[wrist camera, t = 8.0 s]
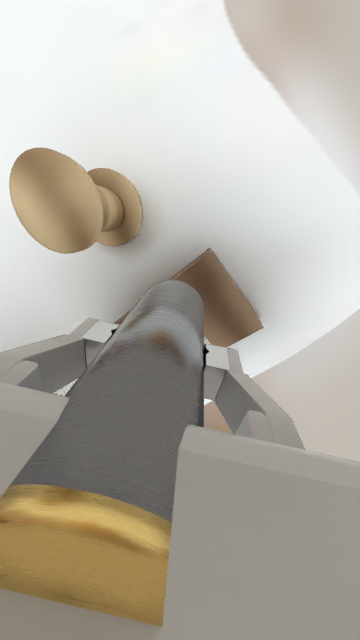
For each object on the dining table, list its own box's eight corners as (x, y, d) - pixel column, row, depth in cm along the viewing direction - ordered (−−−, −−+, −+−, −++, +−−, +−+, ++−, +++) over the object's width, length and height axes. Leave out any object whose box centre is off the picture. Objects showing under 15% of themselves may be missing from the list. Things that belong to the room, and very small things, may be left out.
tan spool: (113, 257, 26) (66, 277, 18) (67, 205, 24) (-14, 198, 15) (155, 215, 23) (124, 214, 15) (107, 151, 21) (35, 103, 12)
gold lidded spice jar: (162, 344, 14) (66, 630, 4) (130, 296, 12) (-128, 569, 3) (214, 323, 12) (245, 662, 3) (185, 268, 11) (68, 583, 2)
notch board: (157, 373, 35) (153, 386, 33) (109, 327, 32) (100, 336, 29) (258, 317, 28) (263, 327, 25) (209, 247, 24) (210, 251, 22)
